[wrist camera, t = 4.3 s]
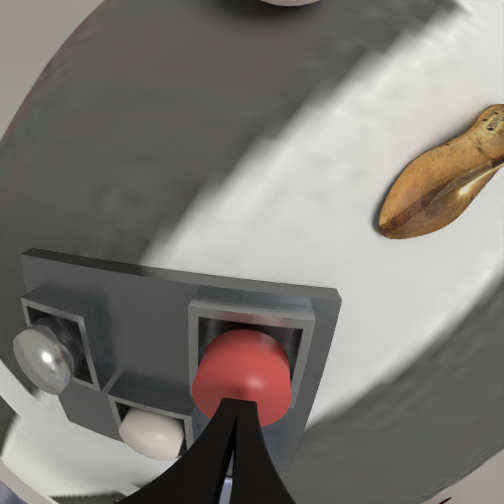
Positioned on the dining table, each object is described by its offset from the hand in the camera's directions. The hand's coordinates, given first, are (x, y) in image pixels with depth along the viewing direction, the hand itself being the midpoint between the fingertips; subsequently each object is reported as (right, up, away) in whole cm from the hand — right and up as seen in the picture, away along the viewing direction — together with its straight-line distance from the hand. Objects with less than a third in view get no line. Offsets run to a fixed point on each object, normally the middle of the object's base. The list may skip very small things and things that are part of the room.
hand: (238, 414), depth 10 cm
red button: (0, +1, +3) cm, 4 cm away
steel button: (-12, 0, +5) cm, 13 cm away
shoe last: (+13, +12, +3) cm, 18 cm away
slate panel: (-6, -2, +8) cm, 10 cm away
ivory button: (-6, -6, +7) cm, 11 cm away
